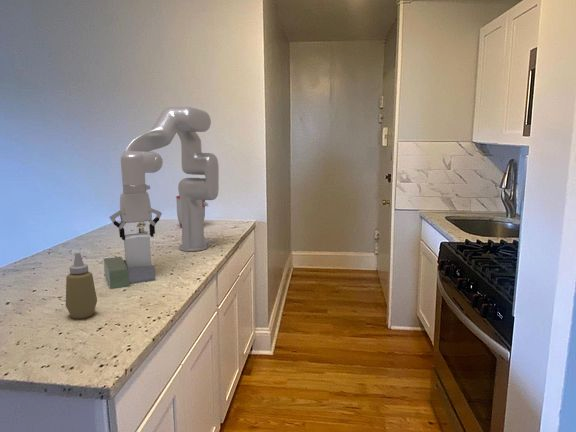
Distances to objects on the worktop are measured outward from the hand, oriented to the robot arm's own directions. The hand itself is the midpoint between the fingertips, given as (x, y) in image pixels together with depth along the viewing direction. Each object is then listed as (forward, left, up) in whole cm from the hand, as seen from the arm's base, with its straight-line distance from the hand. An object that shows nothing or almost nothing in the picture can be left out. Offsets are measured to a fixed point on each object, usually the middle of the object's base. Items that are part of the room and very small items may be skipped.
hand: (137, 237), depth 157 cm
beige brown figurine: (-13, -71, -15) cm, 74 cm away
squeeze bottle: (+20, +28, -15) cm, 38 cm away
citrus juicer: (-42, -78, -15) cm, 89 cm away
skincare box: (+1, 0, -14) cm, 14 cm away
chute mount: (+3, 0, -14) cm, 15 cm away
